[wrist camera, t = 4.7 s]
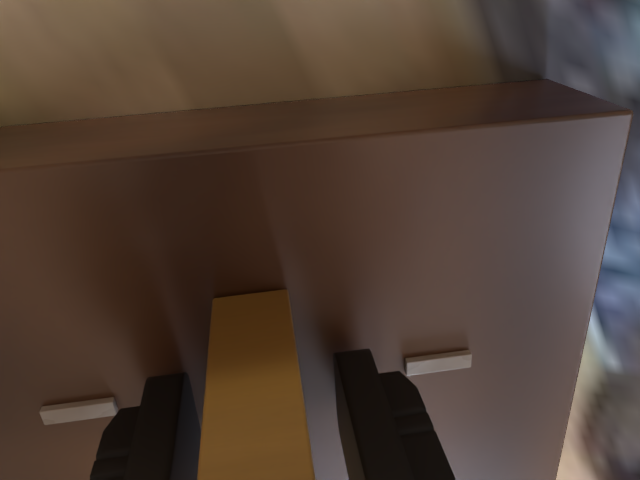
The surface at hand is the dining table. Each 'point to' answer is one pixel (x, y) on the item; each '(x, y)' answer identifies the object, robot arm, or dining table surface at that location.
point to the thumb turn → (254, 393)
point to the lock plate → (311, 261)
